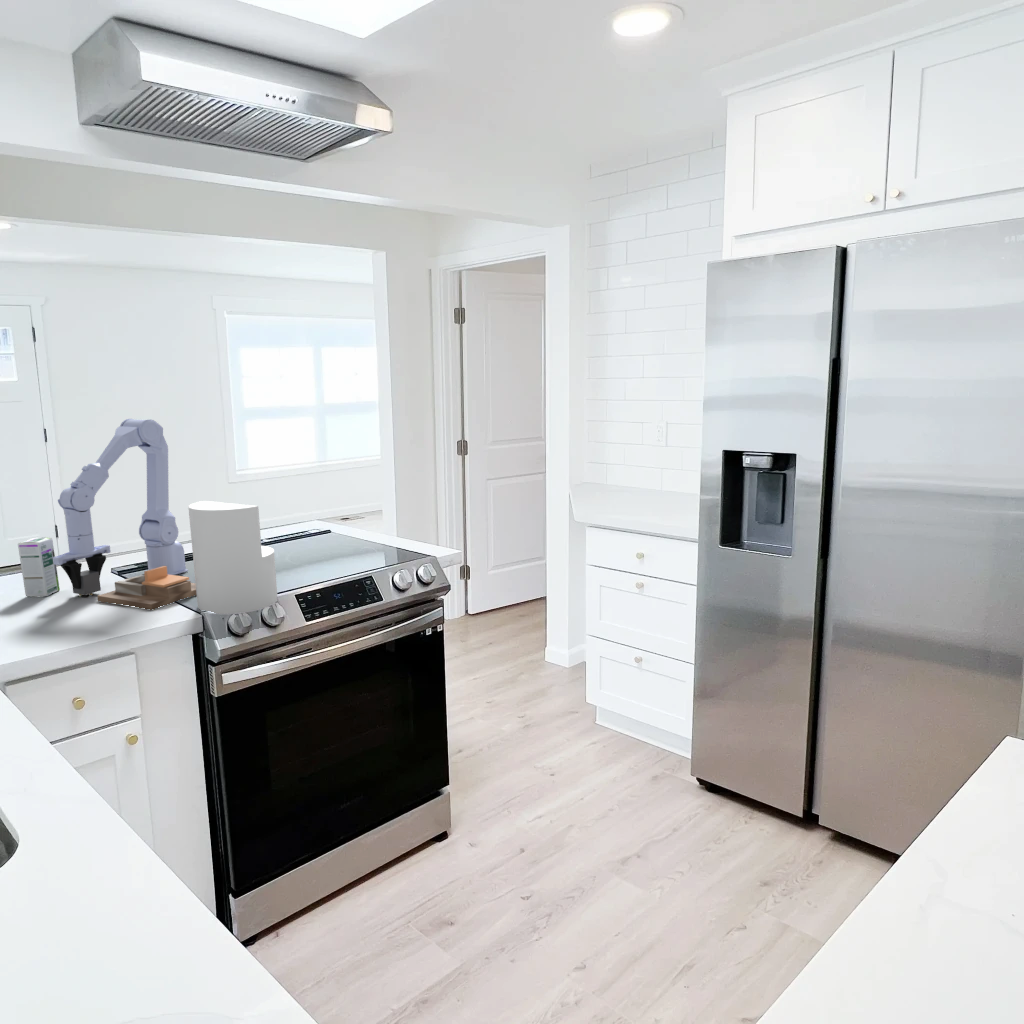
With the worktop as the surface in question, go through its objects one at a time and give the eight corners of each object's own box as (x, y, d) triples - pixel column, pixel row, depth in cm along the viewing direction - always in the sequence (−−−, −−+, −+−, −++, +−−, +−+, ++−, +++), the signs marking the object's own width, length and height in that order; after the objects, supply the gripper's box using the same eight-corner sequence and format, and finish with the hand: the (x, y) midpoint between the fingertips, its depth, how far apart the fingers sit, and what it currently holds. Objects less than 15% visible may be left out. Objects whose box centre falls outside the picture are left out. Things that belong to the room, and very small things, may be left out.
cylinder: (230, 619, 181) (221, 512, 176) (181, 606, 191) (171, 505, 186) (293, 598, 196) (286, 500, 191) (245, 588, 206) (238, 494, 202)
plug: (83, 590, 206) (81, 569, 205) (101, 593, 203) (98, 571, 202) (67, 595, 202) (65, 573, 201) (85, 598, 199) (82, 576, 198)
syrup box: (47, 596, 201) (40, 541, 198) (24, 597, 201) (17, 542, 198) (60, 590, 207) (53, 537, 204) (38, 590, 207) (31, 537, 204)
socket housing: (157, 583, 212) (156, 569, 211) (209, 590, 204) (207, 575, 203) (98, 601, 196) (96, 586, 195) (151, 610, 188) (149, 594, 187)
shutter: (168, 576, 203) (167, 565, 202) (189, 579, 199) (188, 567, 199) (142, 584, 196) (140, 572, 195) (163, 587, 192) (162, 575, 192)
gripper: (95, 527, 207) (101, 577, 210) (42, 538, 195) (49, 591, 197) (113, 529, 204) (119, 579, 207) (61, 541, 192) (68, 594, 194)
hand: (86, 585), depth 202 cm, fingers closed on plug, 4 cm apart
